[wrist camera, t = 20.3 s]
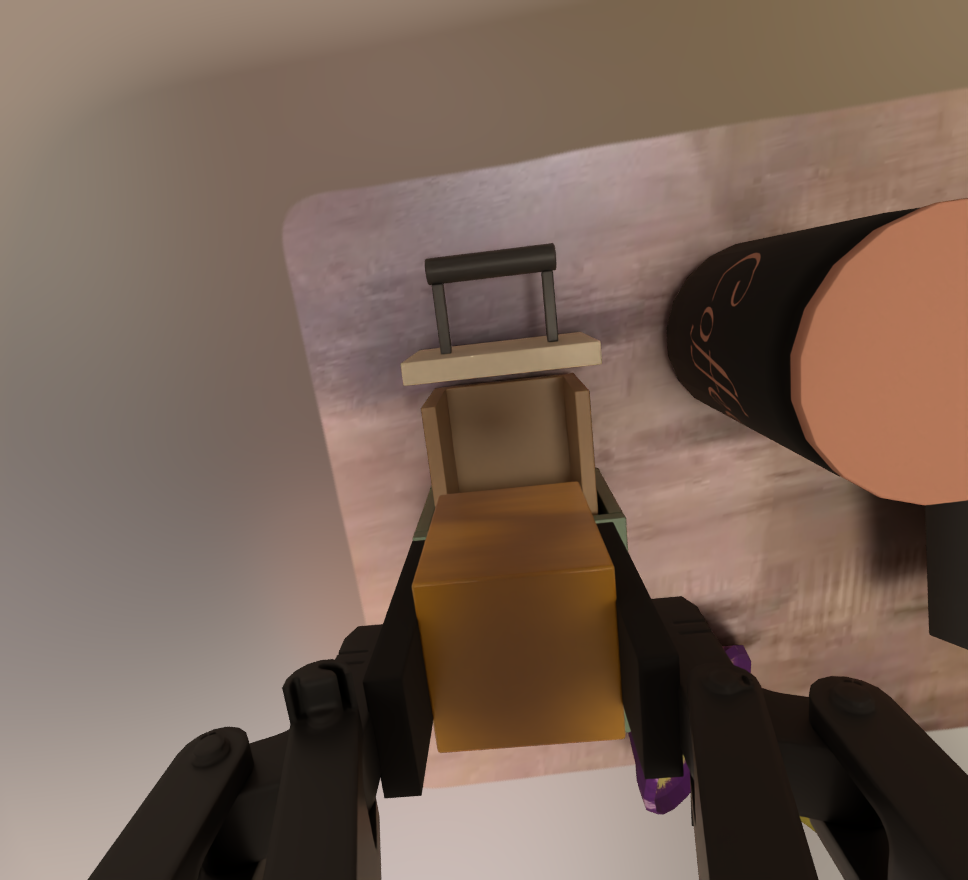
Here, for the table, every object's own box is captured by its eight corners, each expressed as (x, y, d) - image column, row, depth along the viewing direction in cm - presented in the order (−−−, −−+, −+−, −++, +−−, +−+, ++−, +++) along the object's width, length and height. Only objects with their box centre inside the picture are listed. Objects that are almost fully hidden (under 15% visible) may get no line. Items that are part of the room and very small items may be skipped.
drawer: (407, 266, 36) (384, 259, 29) (574, 246, 36) (593, 234, 28) (444, 530, 40) (432, 580, 33) (594, 515, 40) (615, 563, 33)
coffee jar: (668, 240, 36) (824, 191, 19) (843, 242, 36) (1165, 195, 18) (653, 408, 39) (778, 503, 21) (815, 412, 39) (1075, 511, 21)
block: (456, 619, 20) (437, 754, 14) (438, 494, 19) (410, 584, 13) (588, 607, 20) (626, 740, 14) (578, 480, 18) (614, 565, 13)
